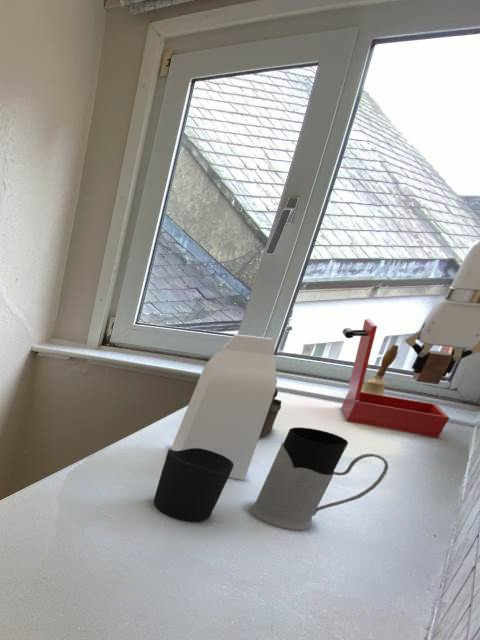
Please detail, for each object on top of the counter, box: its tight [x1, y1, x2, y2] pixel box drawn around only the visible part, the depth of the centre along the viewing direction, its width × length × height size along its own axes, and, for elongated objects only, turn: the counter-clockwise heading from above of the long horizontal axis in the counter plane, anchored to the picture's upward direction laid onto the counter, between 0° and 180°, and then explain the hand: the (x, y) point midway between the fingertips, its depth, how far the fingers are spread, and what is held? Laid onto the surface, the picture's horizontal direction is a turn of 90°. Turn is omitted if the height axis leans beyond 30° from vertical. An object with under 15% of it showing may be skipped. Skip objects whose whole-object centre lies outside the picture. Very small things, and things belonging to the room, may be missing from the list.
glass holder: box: [249, 427, 389, 531], centre depth 89 cm, size 9×14×15 cm, turn 60°
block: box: [412, 349, 453, 385], centre depth 135 cm, size 4×5×7 cm
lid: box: [342, 318, 378, 400], centre depth 143 cm, size 18×14×5 cm
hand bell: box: [361, 344, 399, 396], centre depth 159 cm, size 8×8×16 cm
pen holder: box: [153, 448, 234, 523], centre depth 92 cm, size 9×9×10 cm
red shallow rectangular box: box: [340, 389, 450, 439], centre depth 142 cm, size 18×14×5 cm
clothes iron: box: [259, 379, 282, 439], centre depth 129 cm, size 8×16×13 cm, turn 140°
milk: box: [171, 333, 277, 481], centre depth 108 cm, size 12×12×26 cm
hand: (429, 373), depth 136 cm, fingers closed on block, 4 cm apart
